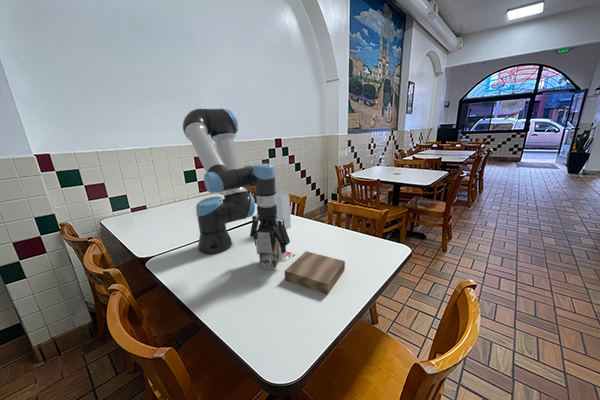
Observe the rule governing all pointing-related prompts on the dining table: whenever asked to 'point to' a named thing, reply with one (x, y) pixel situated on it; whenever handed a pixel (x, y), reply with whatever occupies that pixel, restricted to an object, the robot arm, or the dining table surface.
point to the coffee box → (268, 248)
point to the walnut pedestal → (315, 271)
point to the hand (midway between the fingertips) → (270, 255)
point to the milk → (283, 207)
